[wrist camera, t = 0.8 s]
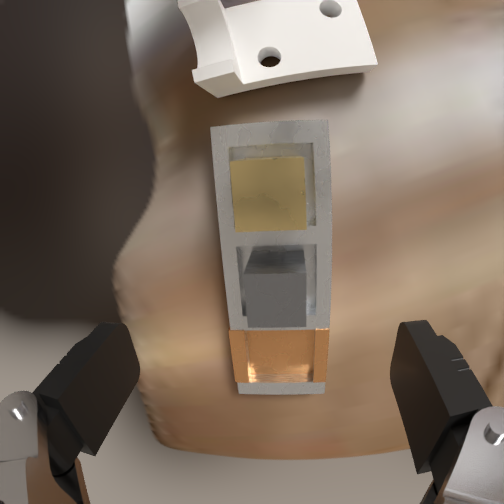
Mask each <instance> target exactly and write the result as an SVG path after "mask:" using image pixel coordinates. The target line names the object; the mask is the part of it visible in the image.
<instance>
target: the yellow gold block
mask: <svg viewBox="0 0 504 504" xmlns="http://www.w3.org/2000/svg"><path fill="white" fill-rule="evenodd" d="M230 173H231V185H232V197H233V209H234V221H235V232H259V231H287V230H307V219H306V190H305V168H304V157H302V156H276V157H258V158H244V159H239V160H234V161H230Z"/></svg>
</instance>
